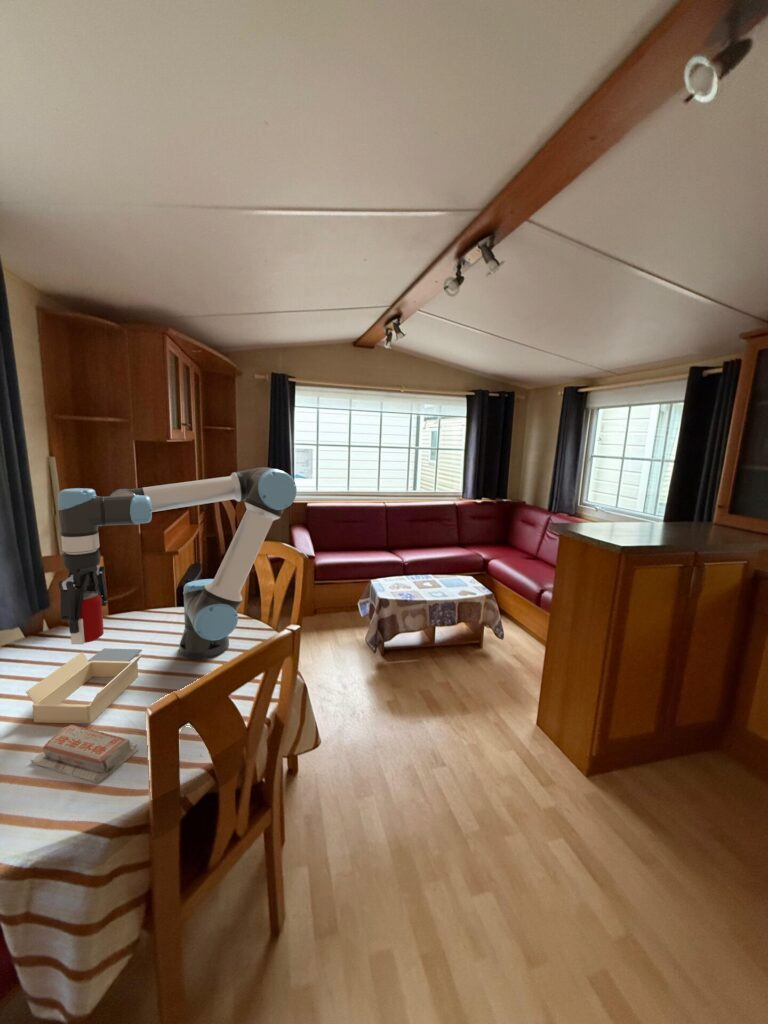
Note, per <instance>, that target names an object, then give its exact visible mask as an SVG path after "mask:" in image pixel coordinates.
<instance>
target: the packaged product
mask: <svg viewBox="0 0 768 1024" xmlns="http://www.w3.org/2000/svg"><path fill="white" fill-rule="evenodd" d="M138 751H139V749H138V744H134V743H132V742H131V741H130V739H127V738H124V737H121V736H116V735H113V734H109V733H105V732H101V731H98V730H94V729H91V728H90V729H89V728H87V727H83V726H79V725H77V724H76V725H75V724H69V725H67V726H64V727H62V728H61V729H59V731H58V732H57V733H56V734H55V735H54V736H53V737H52V738H51V739H49V740H48V741H47V742H46V743H45V745H44V746H43V748H42V752H40V753H39V754H37V755H35V757H34V758H32V759H30V762H31V764H34V765H36V766H40V767H44V768H46V769H50V770H54V771H56V772H59V773H63V774H65V775H68V776H70V777H77V778H80V779H82V780H83V779H84V780H86V781H90V782H93V783H96V784H100V783H102V781H103V780H105V779H106V778H107V777H109V776H110V774H112V773H113V772H114V771H115V770H117V769H118V768H119V767H120V766H121V765H123V763H125V762H126V761H127V760H128V759H130V757H132V756H133V755H134V754H136V753H137V752H138Z"/></svg>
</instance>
